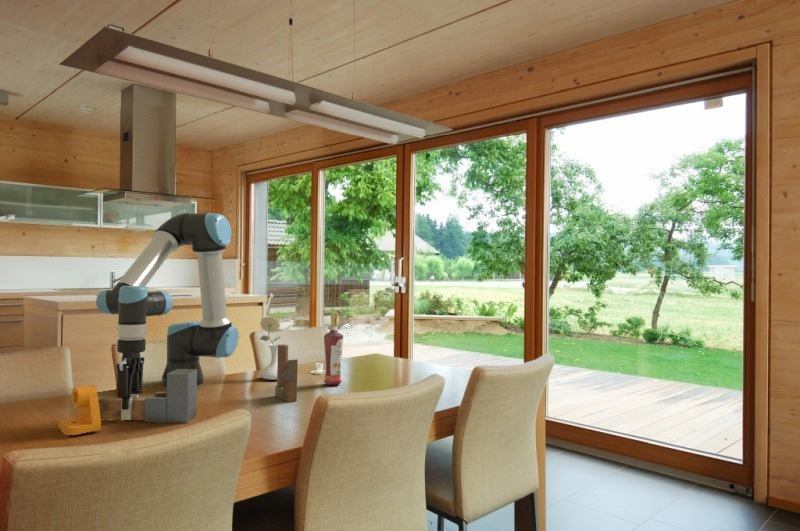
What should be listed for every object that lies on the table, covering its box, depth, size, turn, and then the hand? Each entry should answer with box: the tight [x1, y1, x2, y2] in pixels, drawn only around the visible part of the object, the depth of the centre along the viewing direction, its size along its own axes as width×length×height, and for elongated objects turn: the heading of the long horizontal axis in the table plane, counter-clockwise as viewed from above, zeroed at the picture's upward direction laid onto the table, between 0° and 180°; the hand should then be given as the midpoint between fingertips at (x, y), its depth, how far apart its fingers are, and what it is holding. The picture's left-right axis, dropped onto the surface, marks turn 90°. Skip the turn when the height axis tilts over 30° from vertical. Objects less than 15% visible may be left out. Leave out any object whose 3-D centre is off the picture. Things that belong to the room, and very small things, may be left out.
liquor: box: [323, 311, 344, 387], centre depth 219 cm, size 7×7×28 cm
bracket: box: [57, 384, 102, 436], centre depth 155 cm, size 11×7×12 cm, turn 49°
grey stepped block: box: [144, 369, 198, 424], centre depth 168 cm, size 9×12×14 cm
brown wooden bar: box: [98, 396, 146, 421], centre depth 168 cm, size 20×4×6 cm, turn 92°
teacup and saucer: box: [309, 362, 325, 375], centre depth 244 cm, size 9×8×4 cm
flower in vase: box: [259, 315, 282, 381], centre depth 229 cm, size 13×11×25 cm
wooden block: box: [274, 343, 299, 403], centre depth 196 cm, size 4×11×18 cm, turn 34°
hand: (129, 418), depth 168 cm, fingers open, 4 cm apart
